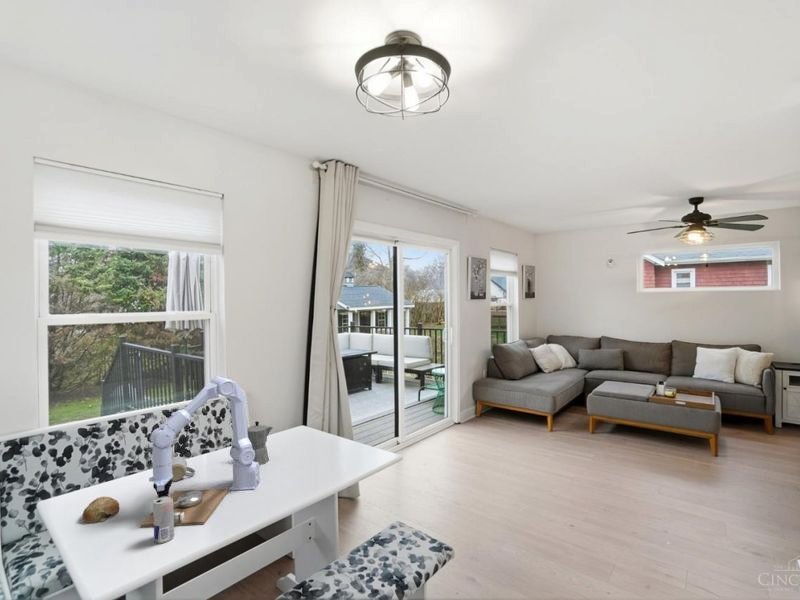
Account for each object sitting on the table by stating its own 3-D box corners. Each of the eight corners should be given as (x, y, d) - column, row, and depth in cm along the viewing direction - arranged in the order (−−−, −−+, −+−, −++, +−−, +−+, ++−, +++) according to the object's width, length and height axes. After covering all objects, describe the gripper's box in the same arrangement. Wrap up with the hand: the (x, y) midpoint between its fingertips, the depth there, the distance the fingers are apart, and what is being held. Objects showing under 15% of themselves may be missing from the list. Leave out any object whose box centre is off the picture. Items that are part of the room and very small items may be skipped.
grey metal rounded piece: (197, 494, 153) (197, 480, 153) (206, 501, 148) (205, 487, 148) (154, 509, 143) (153, 494, 143) (161, 517, 138) (161, 502, 138)
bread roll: (88, 536, 137) (92, 517, 135) (75, 515, 141) (79, 497, 139) (121, 522, 145) (125, 503, 143) (108, 502, 150) (112, 485, 148)
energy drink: (159, 534, 130) (158, 496, 130) (177, 533, 131) (176, 495, 131) (150, 544, 125) (149, 504, 125) (169, 543, 125) (168, 503, 125)
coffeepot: (274, 456, 192) (273, 417, 191) (272, 464, 182) (271, 423, 182) (238, 459, 188) (237, 420, 188) (235, 468, 179) (234, 426, 179)
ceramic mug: (166, 484, 165) (165, 465, 165) (166, 476, 172) (165, 458, 172) (195, 478, 170) (195, 459, 170) (194, 471, 177) (194, 453, 177)
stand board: (229, 490, 158) (228, 481, 158) (203, 524, 135) (203, 514, 135) (175, 493, 157) (174, 484, 157) (140, 527, 134) (140, 517, 134)
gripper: (151, 458, 148) (152, 496, 148) (145, 474, 135) (147, 515, 135) (174, 454, 151) (175, 491, 151) (170, 470, 137) (171, 510, 138)
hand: (163, 503), depth 143 cm, fingers closed, pressing on grey metal rounded piece
